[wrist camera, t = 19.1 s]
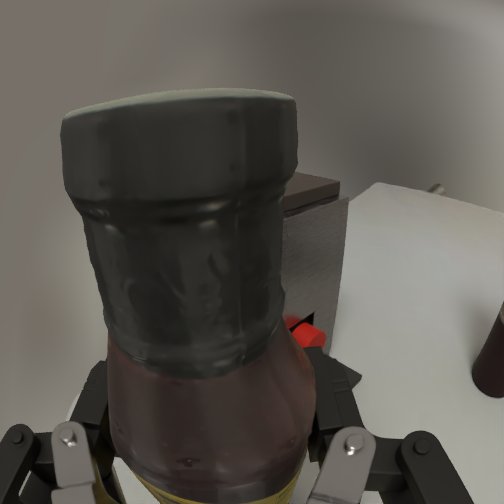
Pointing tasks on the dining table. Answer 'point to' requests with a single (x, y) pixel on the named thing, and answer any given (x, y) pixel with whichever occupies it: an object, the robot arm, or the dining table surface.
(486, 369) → the wine bottle
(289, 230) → the coffee maker
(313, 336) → the power button
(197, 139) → the sauce bottle
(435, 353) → the dining table surface
